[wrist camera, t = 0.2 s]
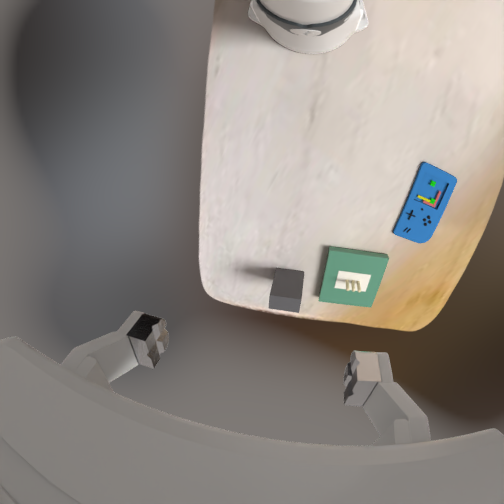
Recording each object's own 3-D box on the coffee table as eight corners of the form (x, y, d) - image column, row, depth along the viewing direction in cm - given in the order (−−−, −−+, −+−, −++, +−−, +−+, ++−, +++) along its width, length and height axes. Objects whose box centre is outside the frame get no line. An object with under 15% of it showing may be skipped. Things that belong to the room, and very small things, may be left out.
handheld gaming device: (393, 234, 46) (423, 161, 38) (391, 232, 47) (421, 160, 38) (426, 247, 46) (458, 179, 37) (425, 244, 47) (456, 177, 38)
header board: (329, 246, 51) (330, 258, 48) (387, 254, 49) (391, 267, 46) (318, 296, 59) (318, 310, 55) (370, 302, 57) (372, 316, 53)
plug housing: (276, 267, 57) (269, 295, 50) (304, 271, 56) (301, 299, 49) (275, 280, 59) (268, 308, 52) (302, 284, 58) (298, 312, 51)
